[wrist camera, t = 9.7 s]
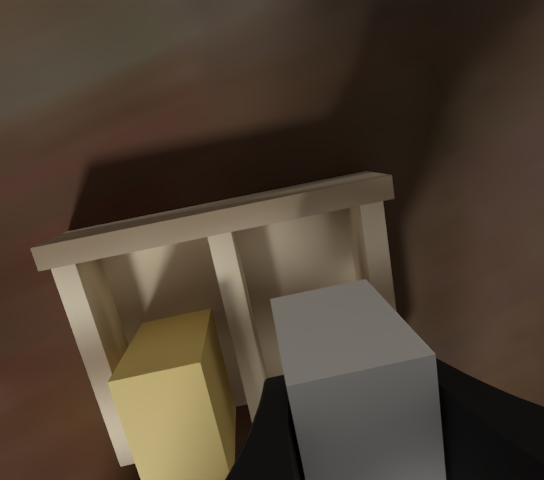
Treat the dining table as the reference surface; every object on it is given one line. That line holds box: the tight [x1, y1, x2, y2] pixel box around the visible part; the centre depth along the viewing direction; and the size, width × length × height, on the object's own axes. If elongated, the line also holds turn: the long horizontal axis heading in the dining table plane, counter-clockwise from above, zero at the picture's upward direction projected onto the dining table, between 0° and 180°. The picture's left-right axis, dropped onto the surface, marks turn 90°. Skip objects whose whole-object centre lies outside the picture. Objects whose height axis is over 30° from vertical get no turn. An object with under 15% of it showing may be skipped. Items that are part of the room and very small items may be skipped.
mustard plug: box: [108, 309, 236, 480], centre depth 17 cm, size 8×4×5 cm, turn 11°
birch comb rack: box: [30, 171, 396, 467], centre depth 18 cm, size 11×15×3 cm
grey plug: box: [270, 279, 446, 480], centre depth 12 cm, size 8×4×5 cm, turn 11°
